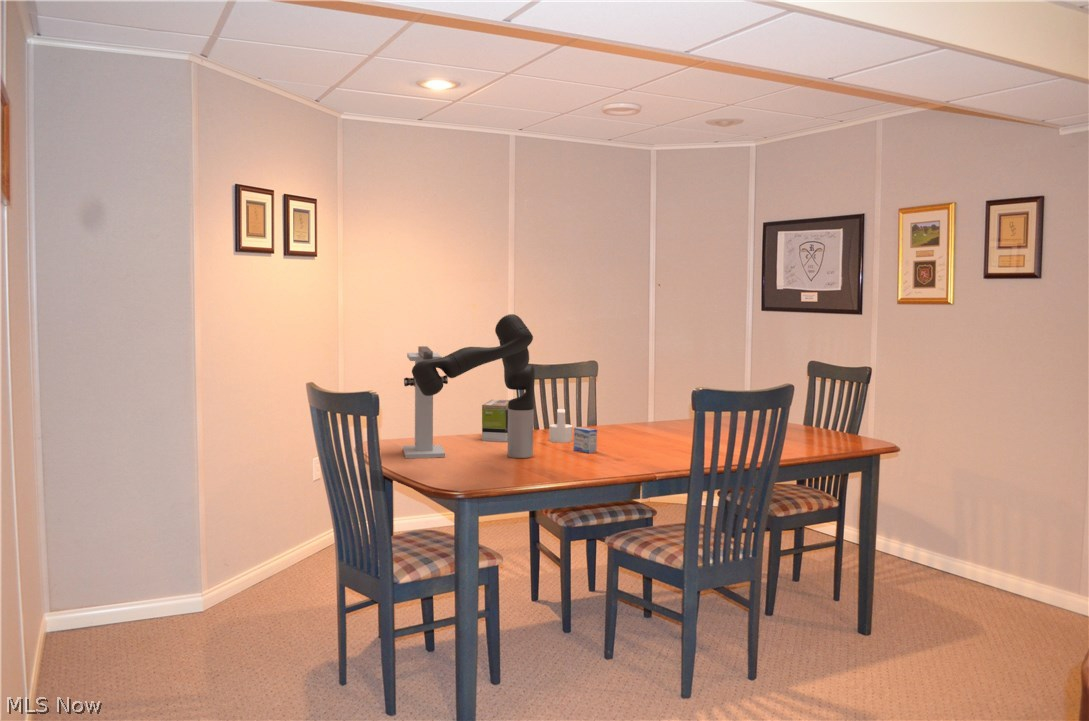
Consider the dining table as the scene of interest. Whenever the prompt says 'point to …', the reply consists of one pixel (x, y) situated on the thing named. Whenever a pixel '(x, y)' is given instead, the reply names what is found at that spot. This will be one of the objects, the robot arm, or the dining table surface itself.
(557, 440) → the cylinder with rectangular tab
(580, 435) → the medicine box
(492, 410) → the tea box
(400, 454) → the dining table surface
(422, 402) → the pedestal
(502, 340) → the robot arm
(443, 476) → the dining table surface
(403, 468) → the dining table surface
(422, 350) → the dark cylinder
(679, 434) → the dining table surface
